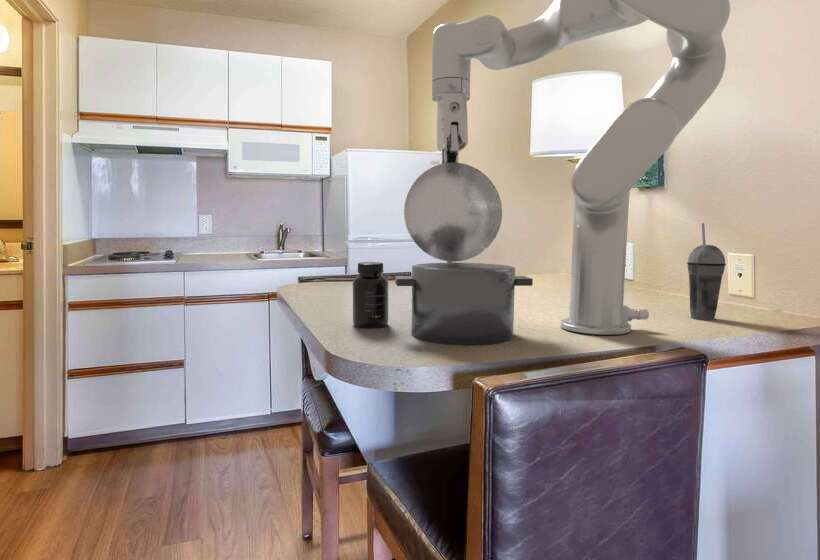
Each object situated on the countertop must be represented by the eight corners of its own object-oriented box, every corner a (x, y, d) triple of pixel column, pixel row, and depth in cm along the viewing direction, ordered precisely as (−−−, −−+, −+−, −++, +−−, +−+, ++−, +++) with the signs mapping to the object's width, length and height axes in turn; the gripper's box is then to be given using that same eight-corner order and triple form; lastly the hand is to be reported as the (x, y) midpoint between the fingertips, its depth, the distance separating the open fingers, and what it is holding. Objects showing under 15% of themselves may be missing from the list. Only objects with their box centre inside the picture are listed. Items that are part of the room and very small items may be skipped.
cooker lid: (501, 261, 108) (498, 261, 111) (502, 163, 107) (498, 166, 110) (404, 261, 106) (403, 261, 109) (404, 161, 106) (403, 164, 108)
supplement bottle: (348, 323, 108) (347, 261, 107) (381, 321, 111) (381, 261, 109) (359, 329, 102) (359, 264, 100) (393, 327, 104) (394, 263, 103)
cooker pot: (512, 323, 109) (514, 262, 108) (543, 344, 91) (545, 271, 90) (392, 324, 107) (392, 262, 105) (399, 346, 89) (400, 271, 87)
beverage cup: (729, 321, 113) (736, 223, 111) (693, 321, 113) (700, 223, 111) (710, 315, 121) (717, 223, 118) (677, 315, 121) (682, 222, 118)
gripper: (477, 83, 103) (475, 183, 105) (462, 100, 117) (461, 188, 119) (437, 82, 102) (436, 183, 104) (427, 99, 117) (426, 187, 119)
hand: (449, 185), depth 112 cm, fingers closed
